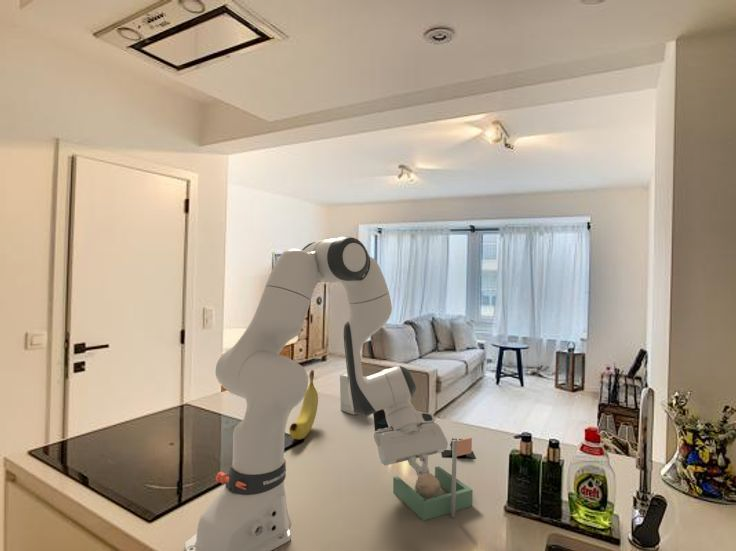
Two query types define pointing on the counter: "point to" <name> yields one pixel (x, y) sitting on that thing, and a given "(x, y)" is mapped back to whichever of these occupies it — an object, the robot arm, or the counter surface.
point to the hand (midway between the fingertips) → (423, 474)
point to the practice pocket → (457, 490)
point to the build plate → (449, 455)
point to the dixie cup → (380, 420)
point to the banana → (306, 412)
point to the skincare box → (345, 395)
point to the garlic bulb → (427, 485)
